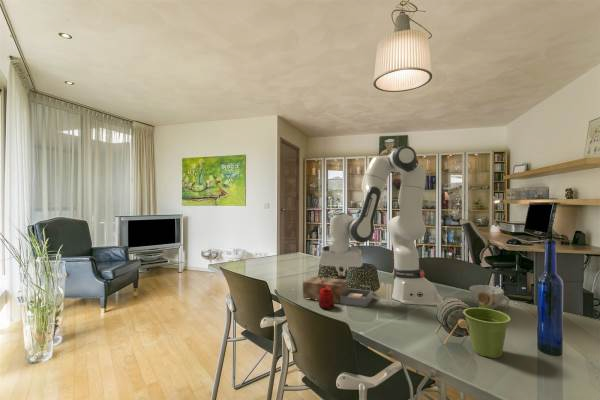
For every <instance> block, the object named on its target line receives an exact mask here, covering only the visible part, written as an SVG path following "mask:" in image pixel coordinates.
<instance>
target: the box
mask: <svg viewBox="0 0 600 400" xmlns="http://www.w3.org/2000/svg"><path fill="white" fill-rule="evenodd" d="M350 293H355V294H363V298H355V297H347V296H348V295H349V294H350ZM372 298H373V299H374V291H373V290H369V289H368V290H367V289H359V288H357V289H356V288H348V289H347V290H346V291H345V292H344V293H343V294H342V295H341V296H340V303H339V305H344V304H347V305H346V306H351V305H354V306H353V307H359V306H361V308H367V307H368V306H369V305H368V304H370V303H371V302H372V301H373V299H372ZM370 301H371V302H370ZM367 305H368V306H367Z"/></svg>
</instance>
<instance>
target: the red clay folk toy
mask: <svg viewBox="0 0 600 400" xmlns="http://www.w3.org/2000/svg"><path fill="white" fill-rule="evenodd" d="M323 276H324V274H321V273H319V276H318V277H321V278H323ZM321 278H320V280H321ZM323 282H324V281H323V280H322V283H323ZM334 302H335V301H334V296H333V292H332V291H331V288H329V287H328V286H326V287H325V286H324V284H323V287H322V289H321V291H320V294H319V301H318V305H319V307H320V308H322V309H323V310H332V309H334V308H335V303H334Z"/></svg>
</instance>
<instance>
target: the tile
mask: <svg viewBox="0 0 600 400" xmlns="http://www.w3.org/2000/svg"><path fill="white" fill-rule="evenodd" d="M347 297H355V298H363V294H355V293H350V294H349V295H348V296H347Z"/></svg>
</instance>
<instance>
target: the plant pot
mask: <svg viewBox="0 0 600 400" xmlns="http://www.w3.org/2000/svg"><path fill="white" fill-rule="evenodd" d="M462 313H463V315H464V316H465V320H466V322H467V325H468V329H469V335H470V340H471V346H472V350H473V351H474V352H475V353H476V354H478V355H479V356H482V357H488V358H491V359H498V358H500V357H502V355H503V351H504V350H503V349H504V344H505V338H506V332H507V328H508V325H509V322H510V321H511V317H510V315H508V314H506V313H504V312H502V311H500V310H495V309H492V310H491V309H486V308H478V307H470V308H466V309H464V310H463V312H462Z"/></svg>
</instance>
